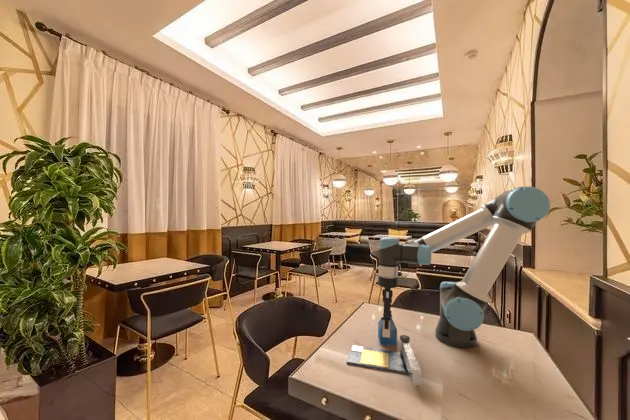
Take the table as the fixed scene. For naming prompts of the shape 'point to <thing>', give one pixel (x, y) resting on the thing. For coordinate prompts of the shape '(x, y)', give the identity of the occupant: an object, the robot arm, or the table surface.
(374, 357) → the tray
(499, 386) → the table surface
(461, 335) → the robot arm
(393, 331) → the perfume bottle
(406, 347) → the swing arm
